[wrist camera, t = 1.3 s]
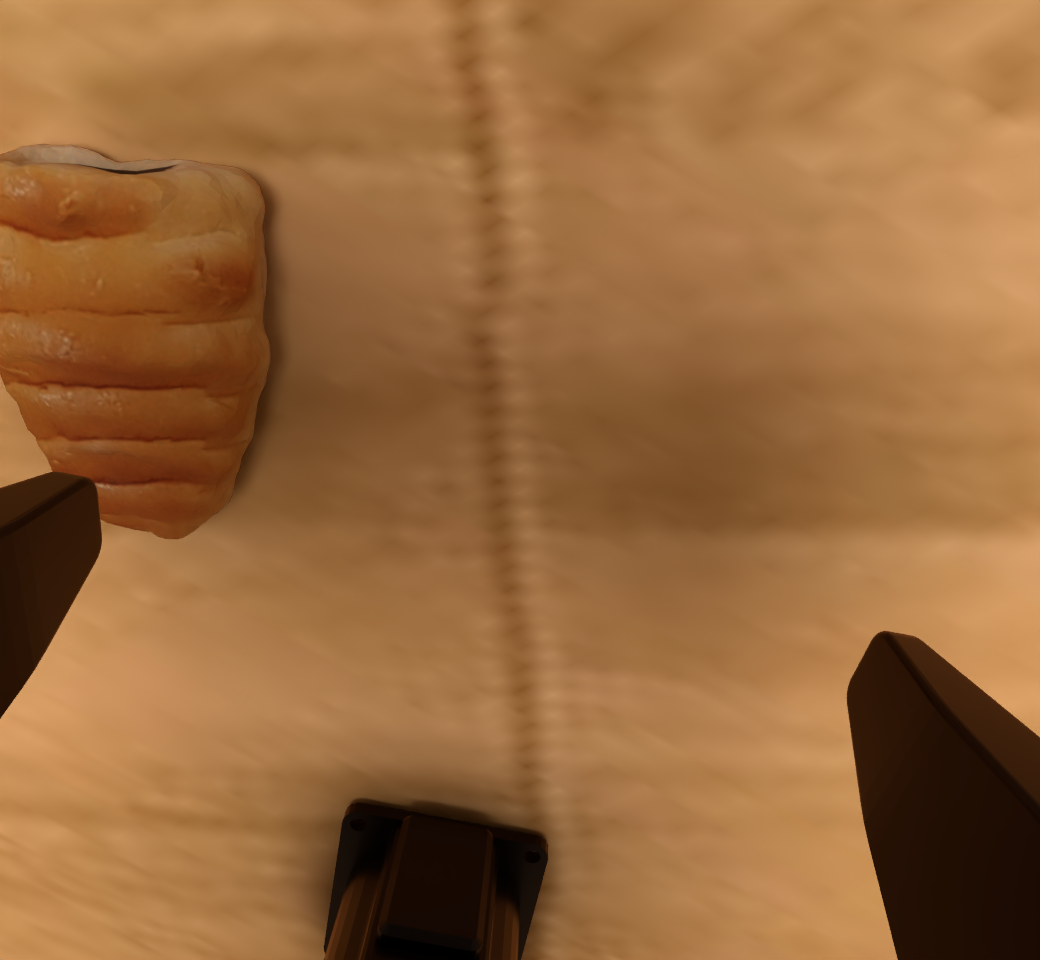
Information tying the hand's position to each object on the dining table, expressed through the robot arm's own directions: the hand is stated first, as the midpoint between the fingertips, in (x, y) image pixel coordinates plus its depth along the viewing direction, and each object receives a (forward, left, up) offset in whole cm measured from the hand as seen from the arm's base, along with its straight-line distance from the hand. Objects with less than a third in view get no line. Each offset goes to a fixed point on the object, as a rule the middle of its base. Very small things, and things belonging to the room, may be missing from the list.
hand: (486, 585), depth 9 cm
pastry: (-1, +9, -12) cm, 15 cm away
